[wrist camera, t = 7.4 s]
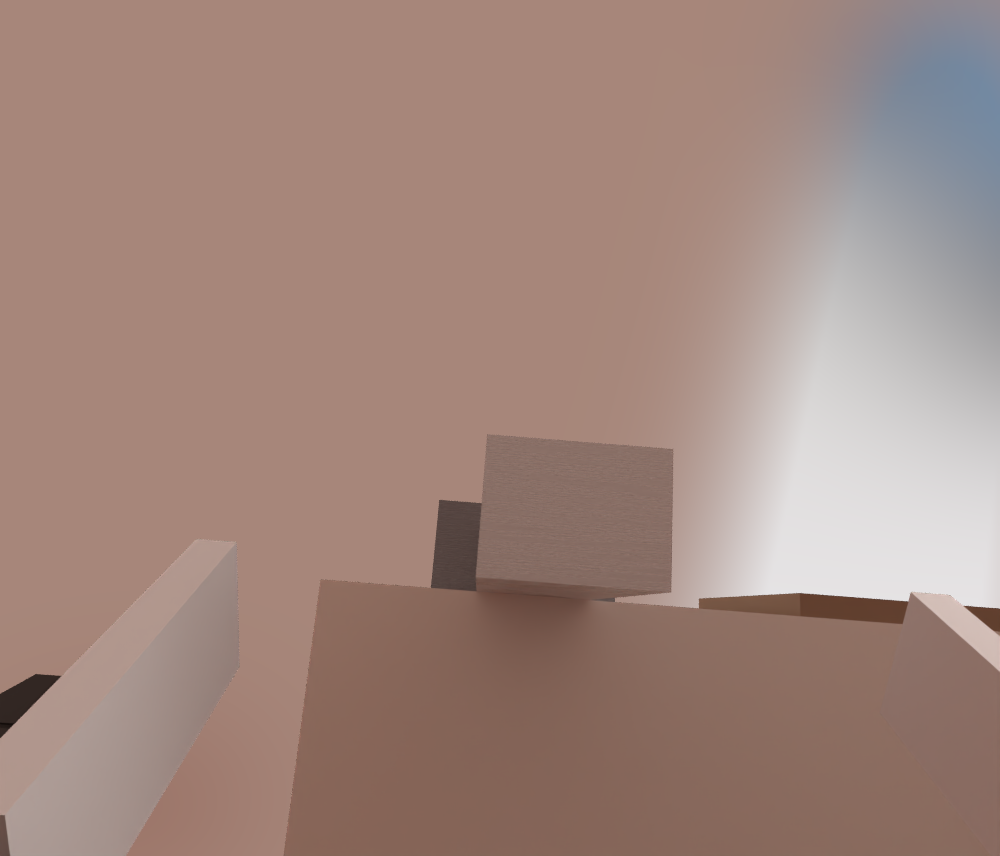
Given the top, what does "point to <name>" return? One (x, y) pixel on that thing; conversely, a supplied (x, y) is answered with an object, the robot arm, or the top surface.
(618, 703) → the tall cream pillar block
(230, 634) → the robot arm
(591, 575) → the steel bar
